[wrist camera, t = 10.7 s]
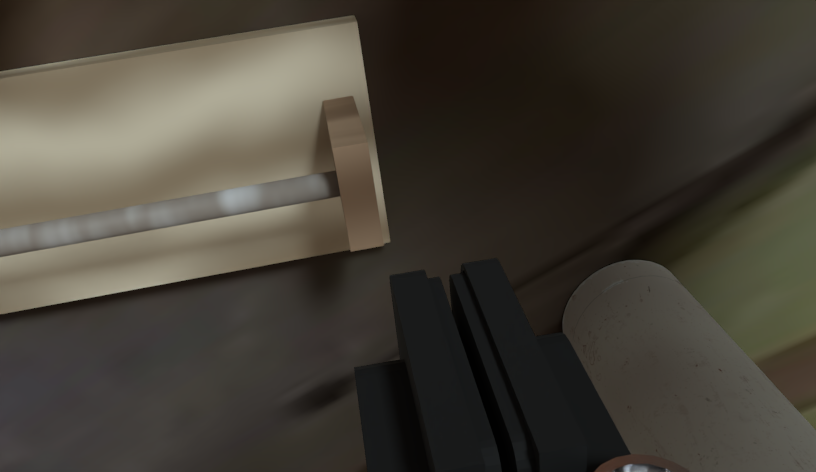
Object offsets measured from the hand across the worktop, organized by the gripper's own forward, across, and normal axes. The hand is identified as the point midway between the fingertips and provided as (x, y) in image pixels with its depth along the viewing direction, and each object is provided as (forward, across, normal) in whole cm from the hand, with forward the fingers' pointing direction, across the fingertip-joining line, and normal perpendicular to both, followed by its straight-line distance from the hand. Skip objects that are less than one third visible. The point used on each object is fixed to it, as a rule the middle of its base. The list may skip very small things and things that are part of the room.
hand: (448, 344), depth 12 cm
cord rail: (+28, +16, +8) cm, 33 cm away
